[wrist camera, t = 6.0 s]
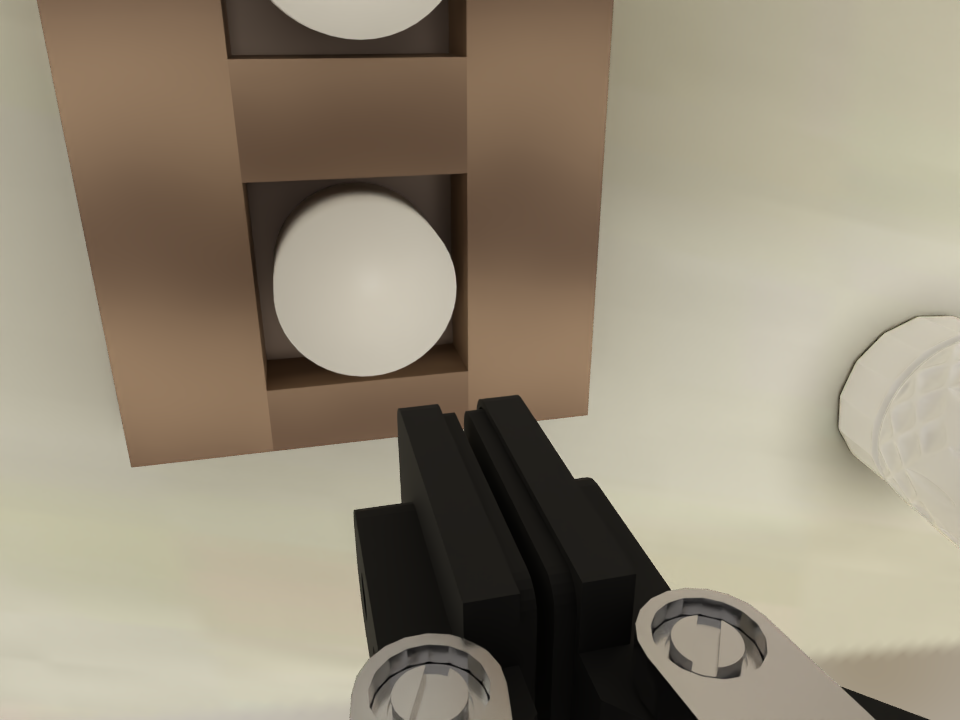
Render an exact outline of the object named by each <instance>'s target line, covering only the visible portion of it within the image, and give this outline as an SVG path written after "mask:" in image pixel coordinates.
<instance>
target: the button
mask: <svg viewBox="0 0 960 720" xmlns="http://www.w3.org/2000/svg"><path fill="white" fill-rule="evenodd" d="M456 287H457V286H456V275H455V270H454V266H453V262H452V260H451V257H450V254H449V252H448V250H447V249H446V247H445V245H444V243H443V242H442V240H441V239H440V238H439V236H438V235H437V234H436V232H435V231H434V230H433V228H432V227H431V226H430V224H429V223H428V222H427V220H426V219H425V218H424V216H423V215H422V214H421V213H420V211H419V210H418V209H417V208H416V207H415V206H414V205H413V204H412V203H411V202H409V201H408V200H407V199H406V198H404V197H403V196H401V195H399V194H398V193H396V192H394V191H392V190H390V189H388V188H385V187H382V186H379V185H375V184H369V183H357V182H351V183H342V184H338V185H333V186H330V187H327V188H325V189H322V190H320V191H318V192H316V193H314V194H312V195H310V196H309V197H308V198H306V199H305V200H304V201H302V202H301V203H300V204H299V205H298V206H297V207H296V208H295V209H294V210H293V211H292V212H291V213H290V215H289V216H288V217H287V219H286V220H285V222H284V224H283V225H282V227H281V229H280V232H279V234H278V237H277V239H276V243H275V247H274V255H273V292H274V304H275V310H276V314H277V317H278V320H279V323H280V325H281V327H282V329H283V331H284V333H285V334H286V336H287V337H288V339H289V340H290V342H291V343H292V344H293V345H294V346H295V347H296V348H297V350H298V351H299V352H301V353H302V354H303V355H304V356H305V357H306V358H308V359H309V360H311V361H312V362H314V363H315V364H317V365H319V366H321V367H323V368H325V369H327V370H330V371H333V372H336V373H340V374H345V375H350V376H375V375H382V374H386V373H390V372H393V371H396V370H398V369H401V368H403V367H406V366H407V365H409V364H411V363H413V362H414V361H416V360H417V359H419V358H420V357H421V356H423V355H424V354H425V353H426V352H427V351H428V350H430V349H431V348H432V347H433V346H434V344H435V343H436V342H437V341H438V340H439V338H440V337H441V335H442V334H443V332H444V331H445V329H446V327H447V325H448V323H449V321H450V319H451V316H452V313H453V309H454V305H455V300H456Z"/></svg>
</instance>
